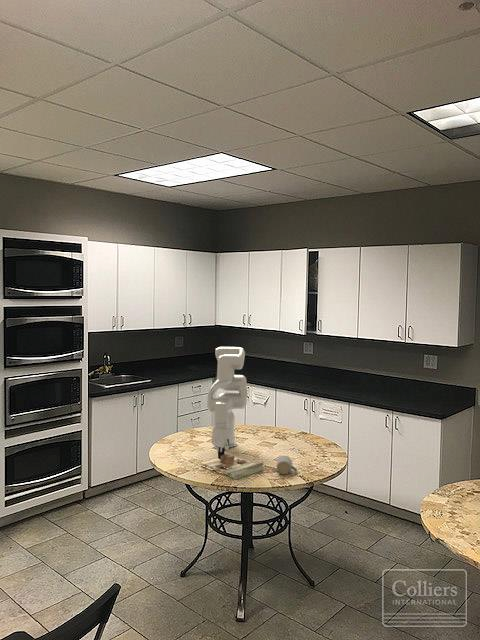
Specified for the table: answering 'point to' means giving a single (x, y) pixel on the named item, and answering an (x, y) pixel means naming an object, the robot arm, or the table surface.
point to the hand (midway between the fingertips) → (221, 458)
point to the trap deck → (234, 467)
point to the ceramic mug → (285, 465)
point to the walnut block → (227, 459)
